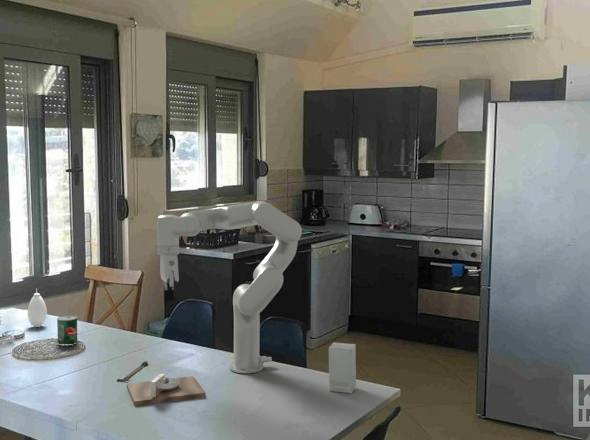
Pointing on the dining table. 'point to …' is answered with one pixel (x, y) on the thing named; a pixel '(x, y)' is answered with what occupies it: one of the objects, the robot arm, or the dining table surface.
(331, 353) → the skincare box
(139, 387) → the dial plate
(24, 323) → the dining table surface
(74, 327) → the canned tomato
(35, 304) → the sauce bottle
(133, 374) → the tan handled tool
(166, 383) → the dial
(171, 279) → the robot arm
